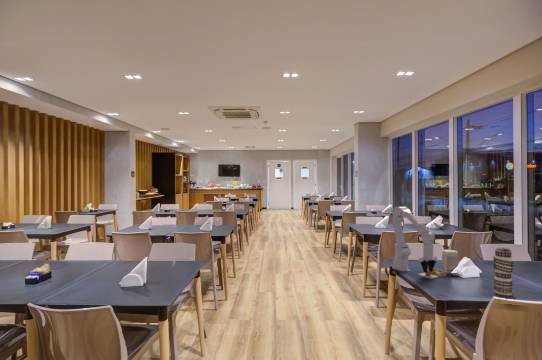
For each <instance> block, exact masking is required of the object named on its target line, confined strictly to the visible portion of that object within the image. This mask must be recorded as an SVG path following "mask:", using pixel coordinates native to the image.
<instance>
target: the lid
mask: <svg viewBox="0 0 542 360" xmlns="http://www.w3.org/2000/svg"><path fill="white" fill-rule="evenodd" d="M417 275H418V276H420V277H423V278H428V279H429V280H430V279H438V278H439V277H438V276H434V275H431V271H428V270H427V273H426V272H422V273H418V274H417Z"/></svg>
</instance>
